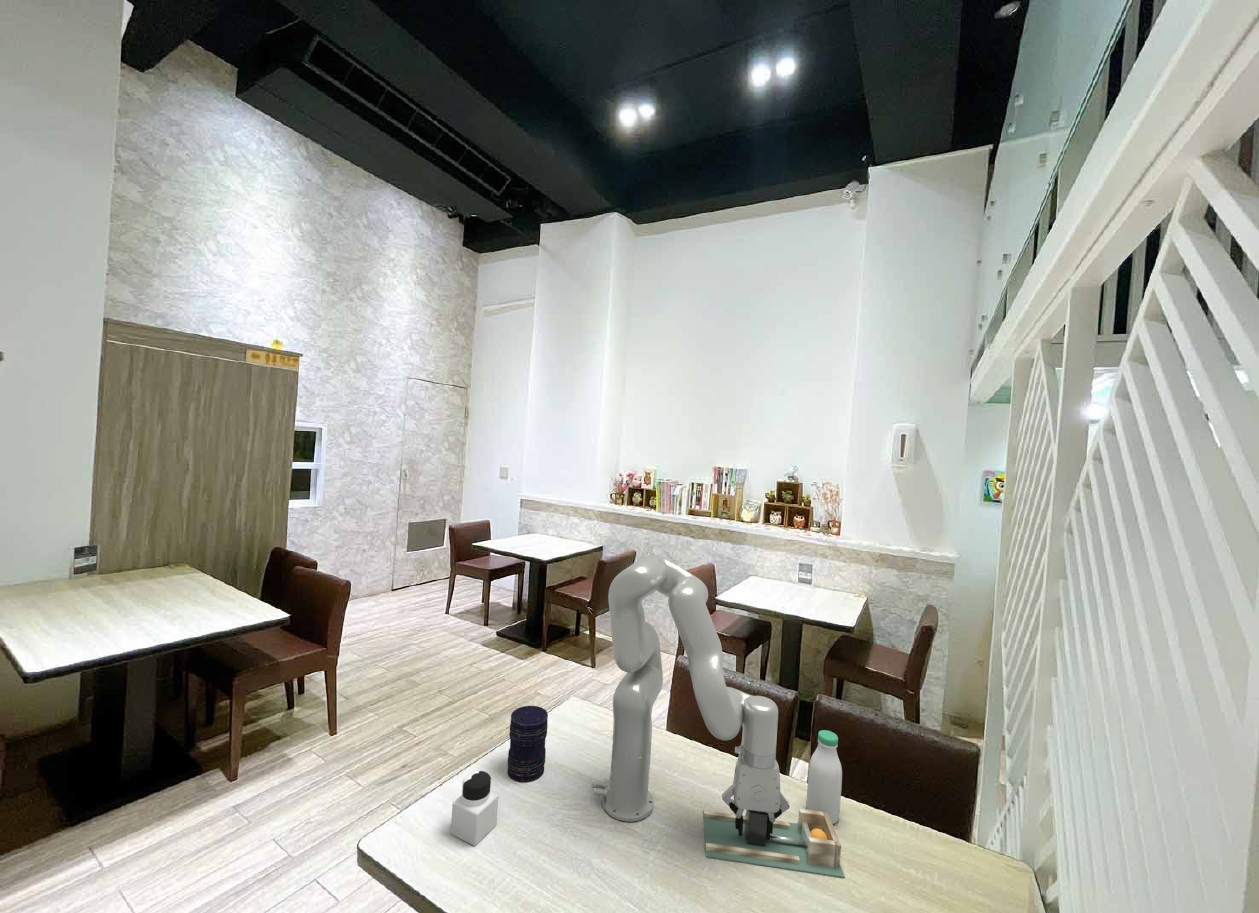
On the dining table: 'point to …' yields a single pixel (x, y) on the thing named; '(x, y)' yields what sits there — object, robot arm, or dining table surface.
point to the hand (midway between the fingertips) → (753, 832)
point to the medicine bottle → (474, 808)
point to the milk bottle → (825, 777)
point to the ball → (818, 834)
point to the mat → (762, 847)
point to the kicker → (757, 835)
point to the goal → (821, 849)
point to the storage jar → (527, 743)
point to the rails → (745, 851)
